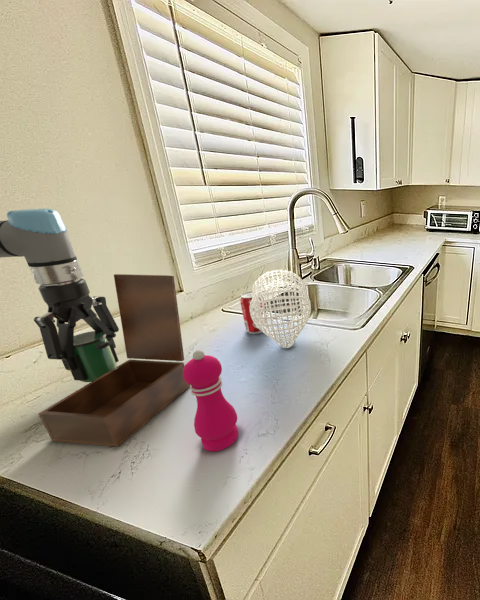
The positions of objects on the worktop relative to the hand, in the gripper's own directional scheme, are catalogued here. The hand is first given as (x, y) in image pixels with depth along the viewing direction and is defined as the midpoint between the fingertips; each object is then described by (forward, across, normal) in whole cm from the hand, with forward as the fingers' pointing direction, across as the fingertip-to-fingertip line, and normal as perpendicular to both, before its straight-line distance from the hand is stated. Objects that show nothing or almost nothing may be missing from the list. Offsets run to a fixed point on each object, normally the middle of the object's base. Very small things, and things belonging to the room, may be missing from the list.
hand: (97, 370), depth 80 cm
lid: (-13, +3, -15) cm, 20 cm away
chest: (+4, -8, -15) cm, 17 cm away
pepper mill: (+5, -14, -41) cm, 43 cm away
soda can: (+5, +33, -23) cm, 40 cm away
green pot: (+1, 0, 0) cm, 1 cm away
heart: (+5, +23, -38) cm, 45 cm away
